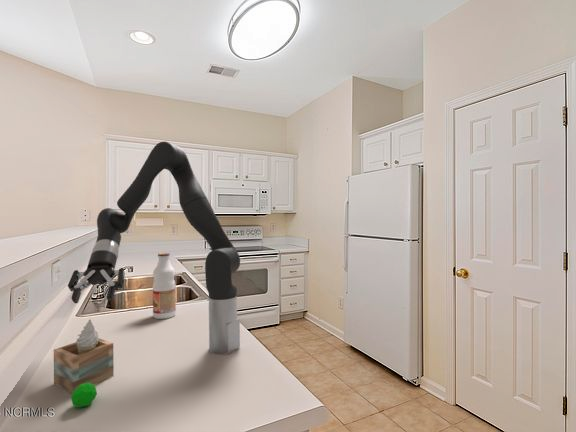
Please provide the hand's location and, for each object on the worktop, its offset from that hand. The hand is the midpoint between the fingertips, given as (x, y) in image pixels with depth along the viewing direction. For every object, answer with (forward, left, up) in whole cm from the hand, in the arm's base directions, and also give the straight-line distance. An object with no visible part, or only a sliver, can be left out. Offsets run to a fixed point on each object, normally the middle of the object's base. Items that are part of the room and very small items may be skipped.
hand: (92, 300), depth 88 cm
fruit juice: (+22, -42, -20) cm, 51 cm away
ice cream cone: (-4, +4, -17) cm, 18 cm away
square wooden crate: (-4, +4, -20) cm, 21 cm away
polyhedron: (-16, +10, -20) cm, 28 cm away
